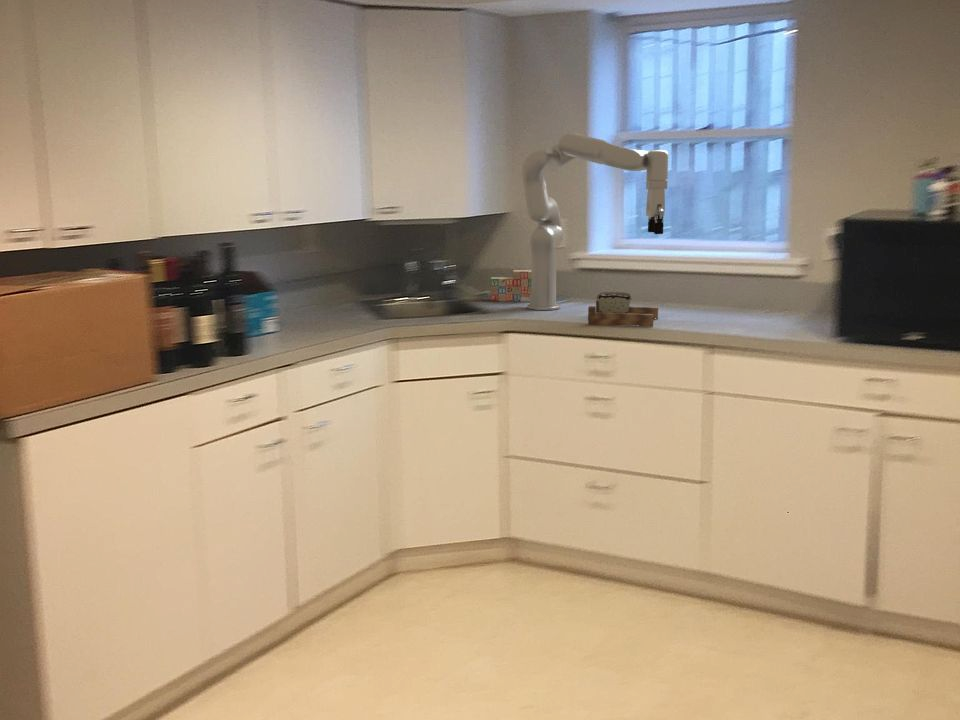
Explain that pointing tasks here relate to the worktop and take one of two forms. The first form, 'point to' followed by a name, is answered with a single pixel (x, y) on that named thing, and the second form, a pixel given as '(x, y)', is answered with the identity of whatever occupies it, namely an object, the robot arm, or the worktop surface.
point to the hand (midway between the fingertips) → (655, 233)
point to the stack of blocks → (511, 286)
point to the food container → (614, 302)
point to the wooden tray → (623, 316)
